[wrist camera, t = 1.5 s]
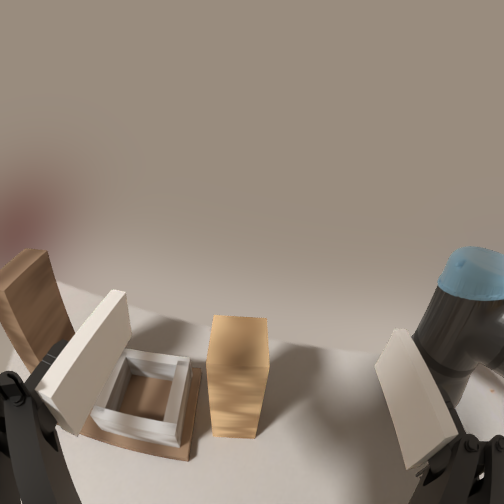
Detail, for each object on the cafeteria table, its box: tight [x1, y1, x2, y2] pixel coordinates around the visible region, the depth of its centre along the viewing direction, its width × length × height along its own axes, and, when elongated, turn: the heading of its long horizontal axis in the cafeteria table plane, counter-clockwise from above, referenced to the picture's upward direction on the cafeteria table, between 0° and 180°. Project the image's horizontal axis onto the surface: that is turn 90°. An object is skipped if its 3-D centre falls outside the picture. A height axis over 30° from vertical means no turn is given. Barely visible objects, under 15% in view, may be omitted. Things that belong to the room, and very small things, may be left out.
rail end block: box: [206, 315, 270, 439], centre depth 26 cm, size 5×6×15 cm
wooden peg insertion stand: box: [0, 248, 202, 462], centre depth 25 cm, size 21×14×20 cm, turn 90°
